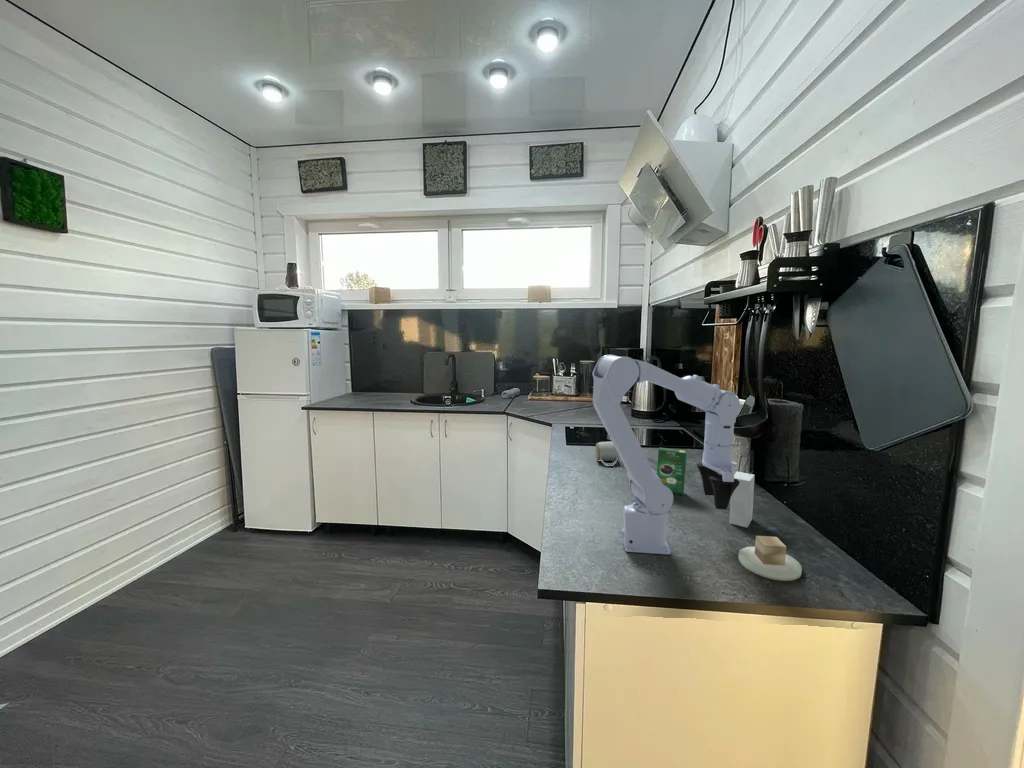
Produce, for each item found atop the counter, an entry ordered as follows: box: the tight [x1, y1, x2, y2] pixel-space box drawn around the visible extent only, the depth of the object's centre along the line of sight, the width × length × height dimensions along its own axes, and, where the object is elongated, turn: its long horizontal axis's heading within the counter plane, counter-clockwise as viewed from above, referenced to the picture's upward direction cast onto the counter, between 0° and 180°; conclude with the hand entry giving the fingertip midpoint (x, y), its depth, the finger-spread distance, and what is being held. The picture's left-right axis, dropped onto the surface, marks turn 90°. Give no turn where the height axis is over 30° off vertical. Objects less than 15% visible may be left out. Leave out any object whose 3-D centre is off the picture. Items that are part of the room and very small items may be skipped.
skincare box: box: [728, 471, 756, 528], centre depth 103 cm, size 6×4×12 cm
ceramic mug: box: [595, 440, 621, 465], centre depth 151 cm, size 11×8×8 cm
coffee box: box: [656, 447, 688, 496], centre depth 123 cm, size 8×3×13 cm, turn 65°
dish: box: [737, 545, 803, 582], centre depth 84 cm, size 11×11×1 cm
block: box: [754, 535, 787, 566], centre depth 84 cm, size 4×4×4 cm
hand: (715, 501), depth 93 cm, fingers open, 7 cm apart
